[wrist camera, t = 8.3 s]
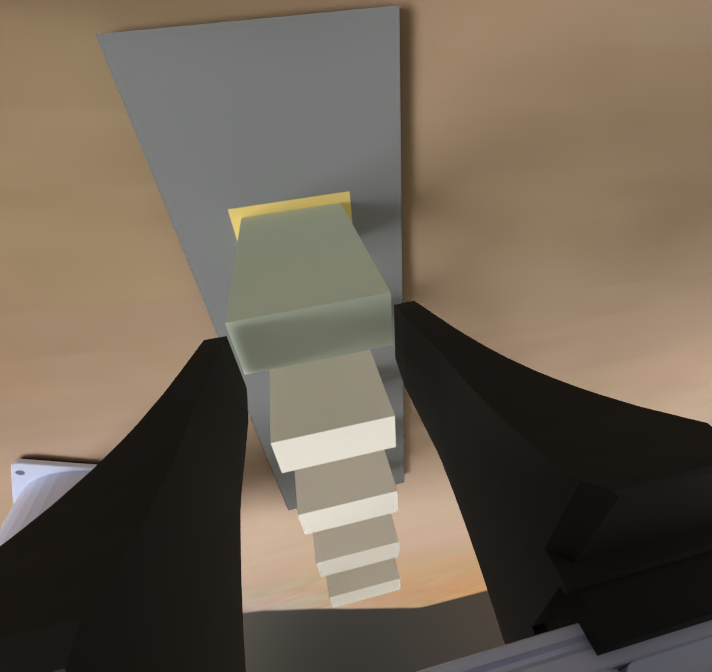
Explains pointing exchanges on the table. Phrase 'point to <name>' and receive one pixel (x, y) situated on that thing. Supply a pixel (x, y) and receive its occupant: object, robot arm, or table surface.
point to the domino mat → (272, 149)
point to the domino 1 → (304, 290)
